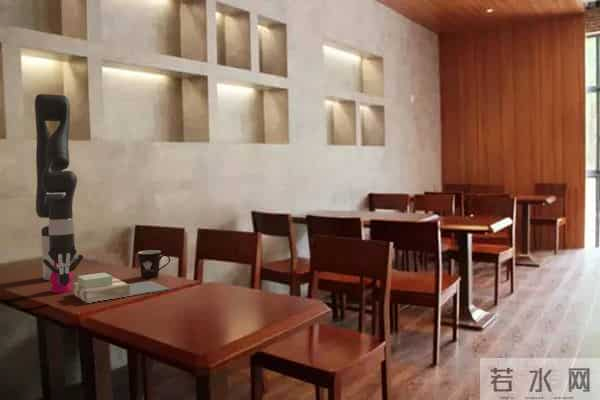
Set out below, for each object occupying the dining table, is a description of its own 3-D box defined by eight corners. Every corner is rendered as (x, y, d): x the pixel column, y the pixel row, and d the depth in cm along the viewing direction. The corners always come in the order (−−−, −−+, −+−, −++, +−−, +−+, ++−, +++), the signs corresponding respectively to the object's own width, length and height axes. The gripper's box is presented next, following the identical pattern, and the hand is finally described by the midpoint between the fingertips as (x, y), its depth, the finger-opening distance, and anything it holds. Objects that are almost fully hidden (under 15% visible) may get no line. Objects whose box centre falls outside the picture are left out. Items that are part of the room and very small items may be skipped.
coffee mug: (133, 278, 211) (133, 253, 210) (148, 274, 219) (147, 249, 218) (158, 280, 207) (157, 254, 206) (172, 276, 214) (171, 251, 214)
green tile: (78, 284, 184) (77, 276, 184) (104, 280, 189) (104, 272, 189) (84, 289, 177) (84, 280, 177) (112, 284, 183) (112, 276, 183)
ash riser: (73, 294, 187) (73, 282, 187) (114, 288, 195) (113, 277, 195) (87, 303, 174) (86, 291, 174) (130, 296, 183) (129, 285, 182)
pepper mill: (64, 293, 188) (61, 236, 186) (45, 293, 189) (43, 236, 188) (76, 288, 195) (74, 233, 193) (58, 288, 196) (56, 233, 195)
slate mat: (114, 288, 195) (114, 286, 195) (151, 282, 204) (151, 280, 204) (130, 296, 183) (130, 295, 183) (169, 290, 191) (169, 288, 191)
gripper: (79, 229, 183) (81, 280, 184) (36, 233, 175) (39, 285, 176) (86, 231, 177) (88, 283, 178) (42, 235, 169) (44, 290, 170)
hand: (63, 284), depth 177 cm, fingers closed
